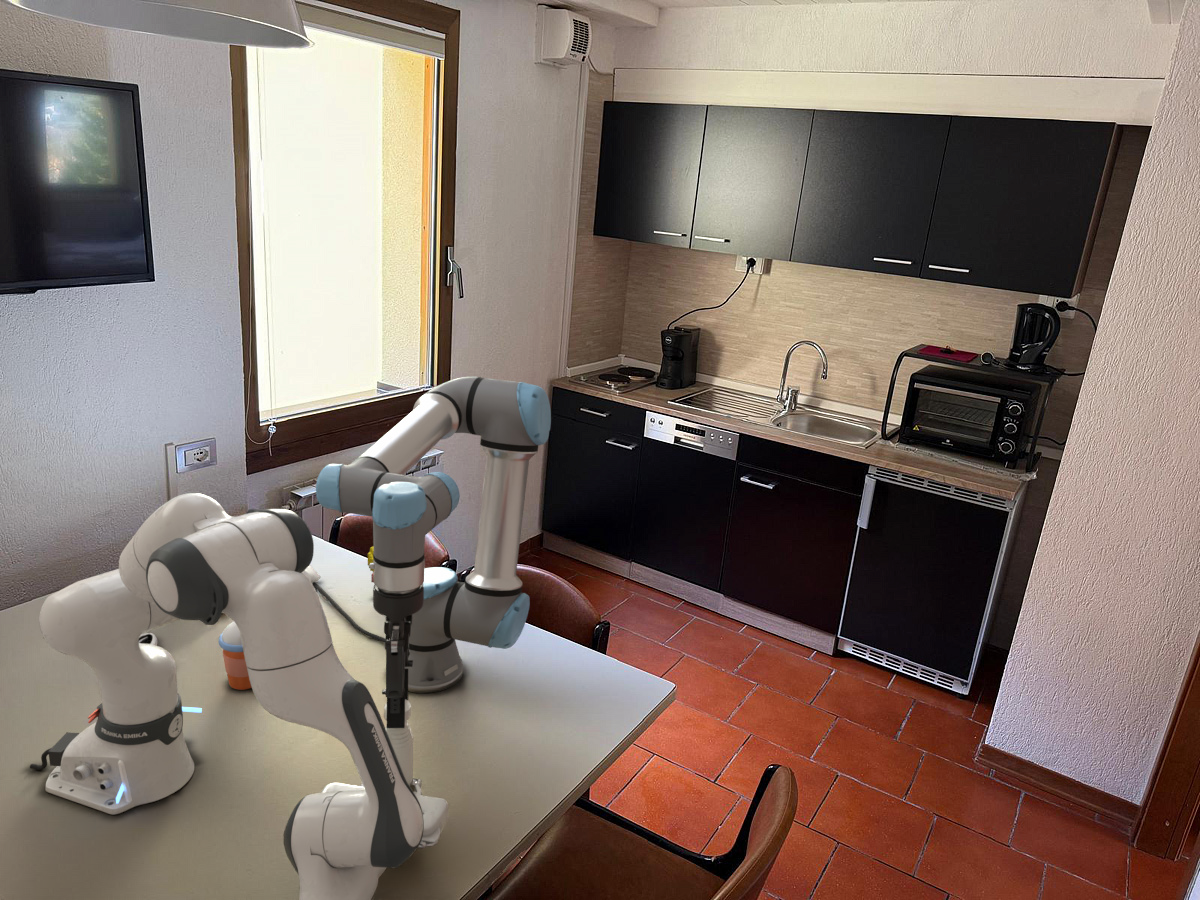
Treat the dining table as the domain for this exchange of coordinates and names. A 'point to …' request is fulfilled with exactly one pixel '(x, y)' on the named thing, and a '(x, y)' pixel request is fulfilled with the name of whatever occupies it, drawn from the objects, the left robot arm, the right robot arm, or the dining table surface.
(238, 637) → the cup with straw
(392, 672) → the right robot arm
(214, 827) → the dining table surface
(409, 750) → the bottle
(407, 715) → the cap
